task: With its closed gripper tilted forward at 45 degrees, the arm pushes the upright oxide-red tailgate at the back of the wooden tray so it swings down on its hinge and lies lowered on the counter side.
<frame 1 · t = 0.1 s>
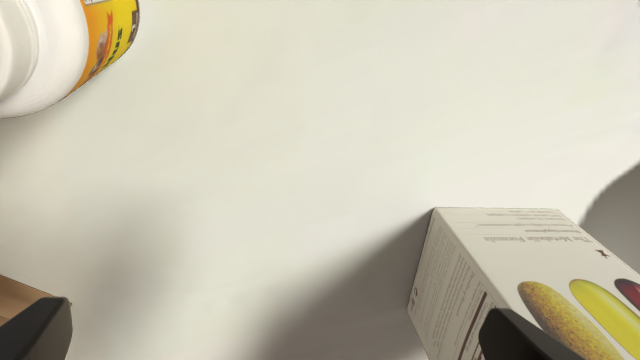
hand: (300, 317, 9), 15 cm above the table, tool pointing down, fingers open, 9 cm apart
supplement box: (476, 259, 29), on the table
supplement bottle: (79, 0, 18), on the table
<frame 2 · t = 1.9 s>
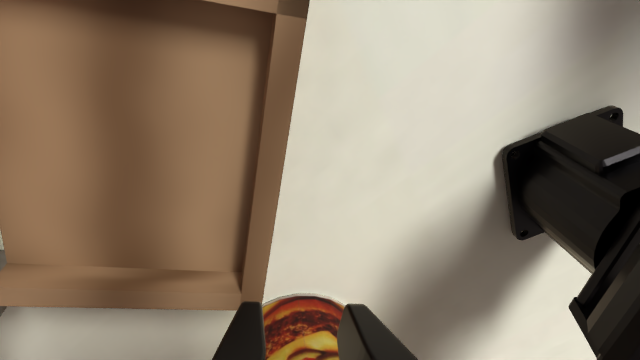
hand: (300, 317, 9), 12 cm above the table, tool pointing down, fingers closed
canned food: (297, 336, 26), on the table
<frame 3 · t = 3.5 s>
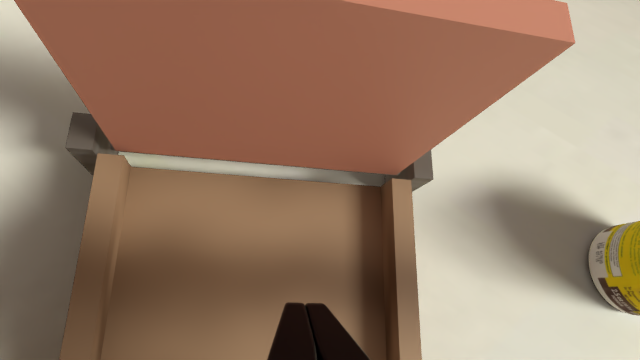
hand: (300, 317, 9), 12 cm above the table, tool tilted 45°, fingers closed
wooden tray: (260, 173, 22), on the table
tailgate: (282, 101, 14), point 8 cm above the table, hinge at 0.0°
supplement bottle: (617, 270, 26), on the table
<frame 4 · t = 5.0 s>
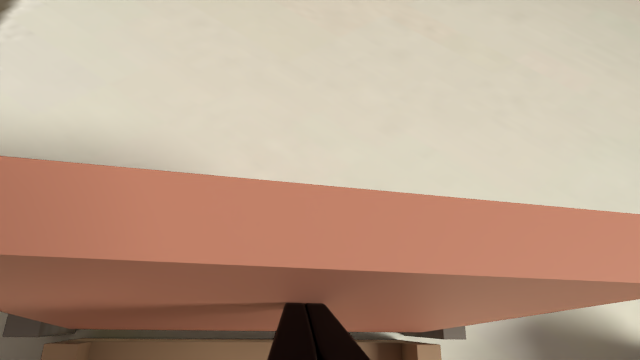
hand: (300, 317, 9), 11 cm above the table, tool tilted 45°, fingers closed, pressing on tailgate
wooden tray: (255, 315, 18), on the table
tailgate: (284, 293, 11), point 8 cm above the table, hinge at 5.6°, touching gripper
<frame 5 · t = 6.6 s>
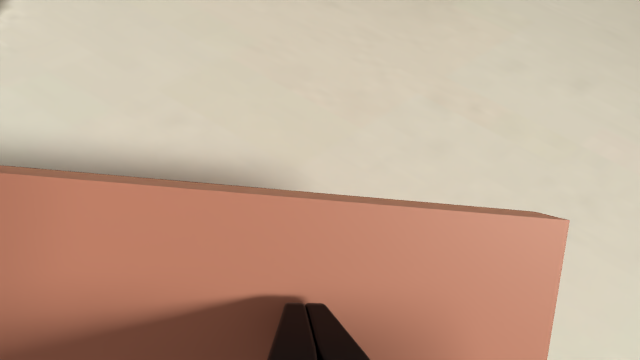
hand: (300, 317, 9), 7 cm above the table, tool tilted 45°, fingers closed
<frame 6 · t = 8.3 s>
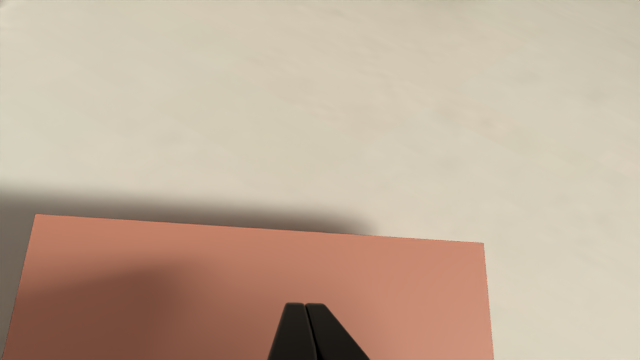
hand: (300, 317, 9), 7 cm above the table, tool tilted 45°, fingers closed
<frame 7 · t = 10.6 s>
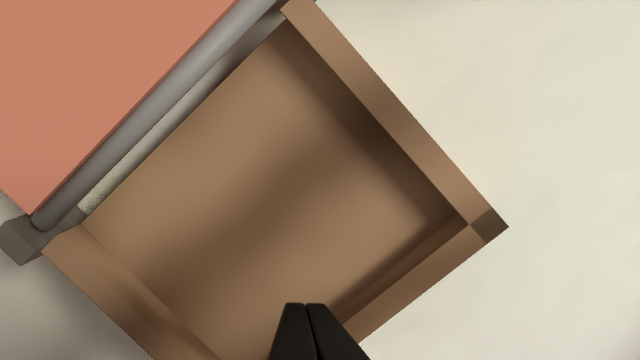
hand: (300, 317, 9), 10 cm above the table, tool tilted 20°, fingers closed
wooden tray: (183, 107, 18), on the table
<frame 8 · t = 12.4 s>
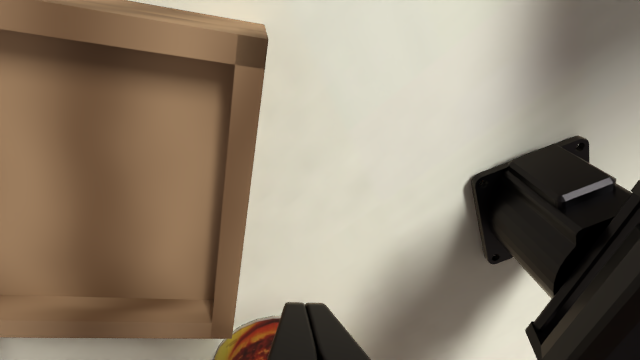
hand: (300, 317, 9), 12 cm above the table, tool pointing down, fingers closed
canned food: (275, 356, 27), on the table
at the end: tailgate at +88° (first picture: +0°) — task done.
